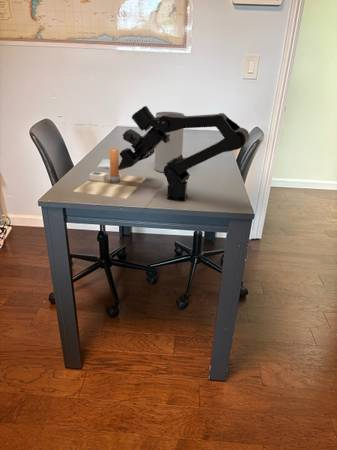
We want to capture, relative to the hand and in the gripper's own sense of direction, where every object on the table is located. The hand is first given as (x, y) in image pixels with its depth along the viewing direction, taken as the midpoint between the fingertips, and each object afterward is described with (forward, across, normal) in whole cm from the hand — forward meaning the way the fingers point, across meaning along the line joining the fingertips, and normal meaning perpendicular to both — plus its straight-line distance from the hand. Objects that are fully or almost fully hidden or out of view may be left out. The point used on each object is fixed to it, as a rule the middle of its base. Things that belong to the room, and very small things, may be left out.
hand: (124, 165), depth 131 cm
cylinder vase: (+2, -30, +11) cm, 32 cm away
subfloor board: (+9, +3, +3) cm, 10 cm away
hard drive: (+22, -22, -8) cm, 32 cm away
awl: (+8, 0, +2) cm, 9 cm away
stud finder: (+13, +1, -3) cm, 14 cm away
